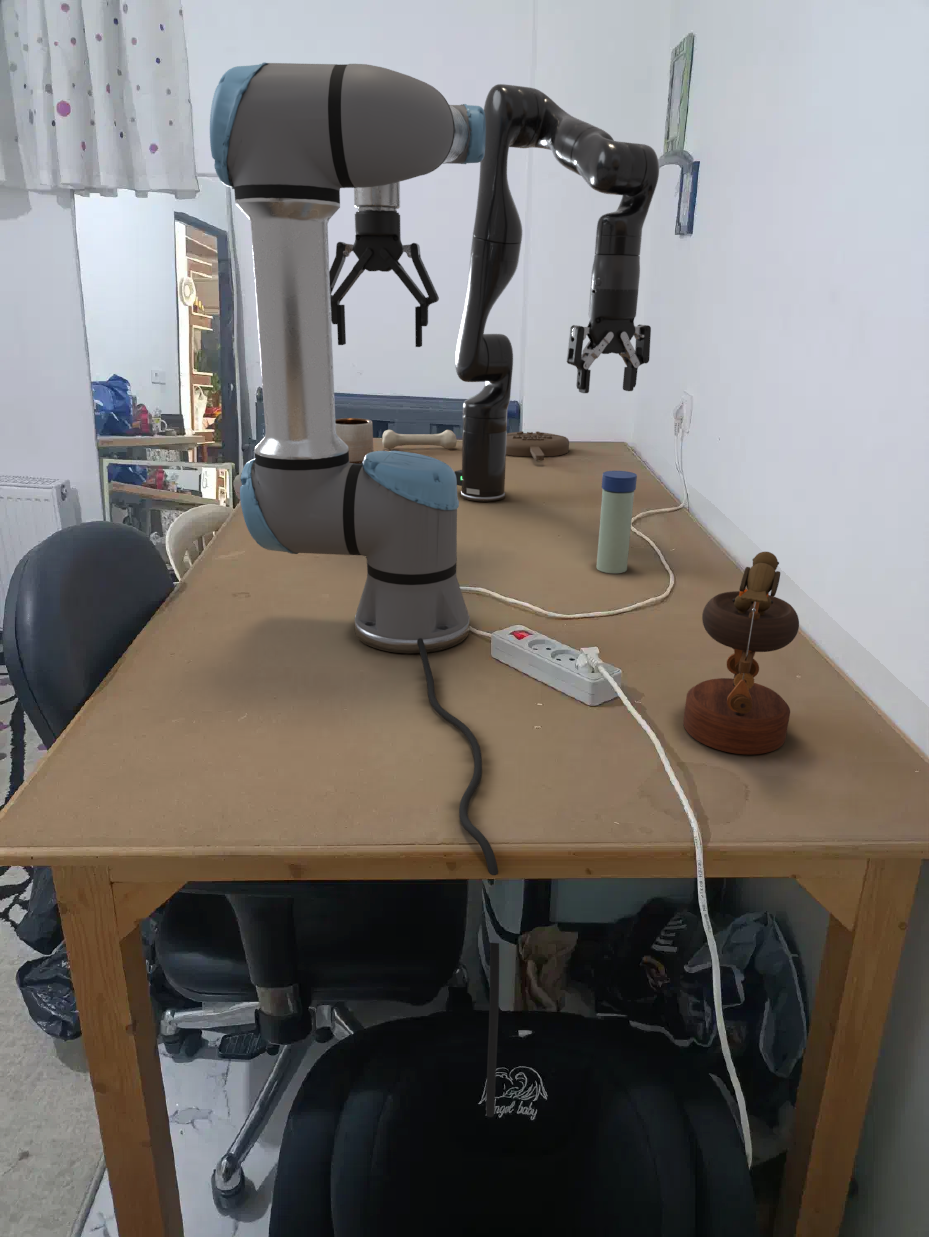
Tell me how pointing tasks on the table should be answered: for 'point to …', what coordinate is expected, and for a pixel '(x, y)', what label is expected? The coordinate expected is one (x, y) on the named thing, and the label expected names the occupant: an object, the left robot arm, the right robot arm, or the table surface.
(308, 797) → the table surface
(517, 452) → the ice cream bar
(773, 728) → the music box
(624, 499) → the green bottle
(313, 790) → the table surface
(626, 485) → the lid
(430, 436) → the dog toy
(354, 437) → the planter
